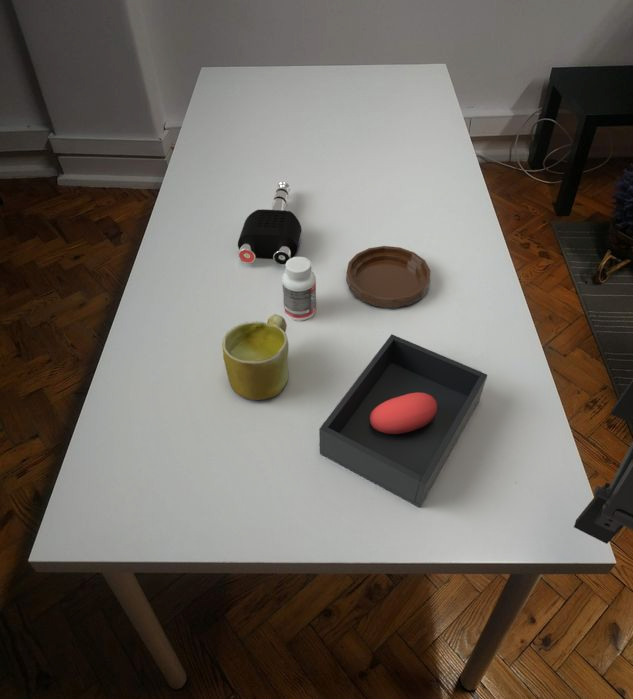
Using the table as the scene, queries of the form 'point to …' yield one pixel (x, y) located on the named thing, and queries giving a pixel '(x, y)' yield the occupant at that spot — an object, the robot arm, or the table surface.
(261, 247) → the audio adapter
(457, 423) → the bin
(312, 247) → the table surface
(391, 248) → the plate
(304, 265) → the pill bottle
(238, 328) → the mug
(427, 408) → the stress ball
